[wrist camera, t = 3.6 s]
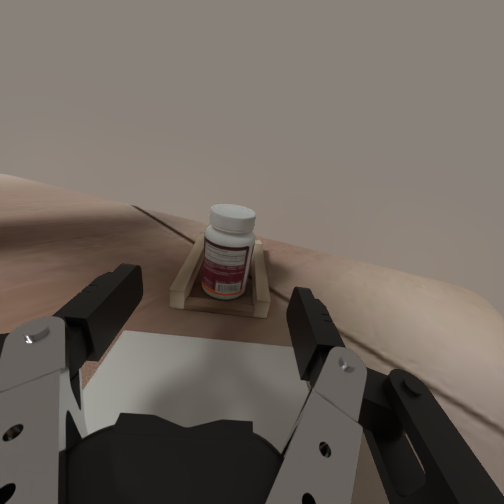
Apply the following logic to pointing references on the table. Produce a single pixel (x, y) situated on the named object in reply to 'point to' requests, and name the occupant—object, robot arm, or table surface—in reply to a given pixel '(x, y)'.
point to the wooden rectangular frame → (182, 300)
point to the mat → (197, 383)
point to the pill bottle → (228, 251)
